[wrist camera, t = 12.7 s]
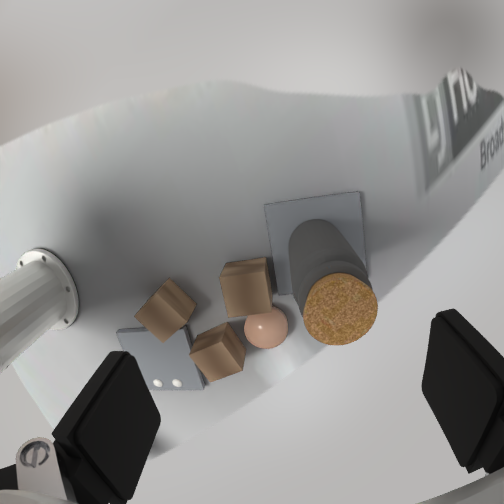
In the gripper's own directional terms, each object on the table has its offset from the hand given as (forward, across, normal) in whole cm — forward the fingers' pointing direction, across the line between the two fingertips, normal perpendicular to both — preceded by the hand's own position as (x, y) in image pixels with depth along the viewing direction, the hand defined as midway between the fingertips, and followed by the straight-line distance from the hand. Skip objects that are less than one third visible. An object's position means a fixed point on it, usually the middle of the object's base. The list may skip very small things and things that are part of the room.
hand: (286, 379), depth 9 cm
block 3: (+26, +4, +6) cm, 27 cm away
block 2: (+26, +9, +14) cm, 31 cm away
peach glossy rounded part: (+26, +3, +12) cm, 28 cm away
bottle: (+25, -4, +3) cm, 25 cm away
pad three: (+25, -4, +3) cm, 26 cm away
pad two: (+26, +18, +17) cm, 36 cm away
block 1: (+26, +14, +8) cm, 30 cm away
